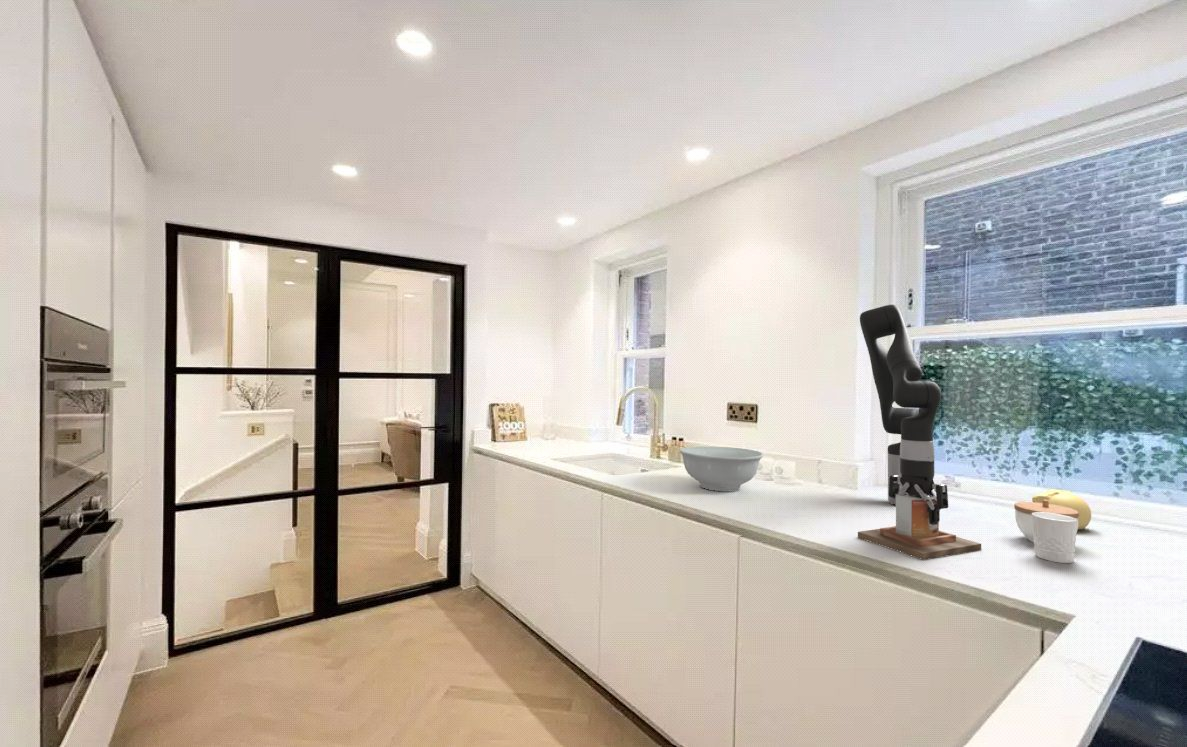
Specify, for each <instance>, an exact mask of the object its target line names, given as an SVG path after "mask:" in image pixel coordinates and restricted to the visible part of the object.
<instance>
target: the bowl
mask: <svg viewBox="0 0 1187 747" xmlns="http://www.w3.org/2000/svg"><path fill="white" fill-rule="evenodd" d="M679 453H680V454H681V455H682V459H683V465H684V469H685V471H686V473H687V474H688V475H689V476H690V477H691V478H692V479H694V480H695V481H697V482H698V483H699V486H700V488H702V489H704V488H705V489H704V490H707V489H709V490H708V491H713V490H715V491H714V492H736V491H735V490H737V491H740V489H741V486H742V485H744V484H746V483H748V482H750V481H751V480H752V479H753V478H755V476H756V474H757V471H758V469H759V464H760V460H761V459H762V458H763V457H764V454H763V453H762V452H761V451H759V450H754V449H748V448H742V447H741V448H740V447H728V446H687V447H682V448H679Z"/></svg>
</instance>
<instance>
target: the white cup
mask: <svg viewBox="0 0 1187 747" xmlns="http://www.w3.org/2000/svg"><path fill="white" fill-rule="evenodd" d="M1032 525H1033V537H1034V542H1033V544H1034V554H1035V556H1036V558H1037V557H1038V558H1040V559H1042V560H1046V561H1049V562H1054V563H1055V562H1056V563H1061V564H1062V563H1063V564H1072V563H1074V562H1075V551H1076V542H1077V533H1076V526H1077V519H1075V518H1073V517H1069V516H1065V515H1060V514H1054V513H1045V512H1034V513H1032Z"/></svg>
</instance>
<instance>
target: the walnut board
mask: <svg viewBox="0 0 1187 747" xmlns="http://www.w3.org/2000/svg"><path fill="white" fill-rule="evenodd" d="M858 537H859V538H858ZM857 538H858V539H861V538H862V539H861V540H864V539H865V541H867V540H868V541H867V542H870V541H871V542H870V543H874V544H876V543H877V544H876V545H879V544H880V545H879V546H881V545H883V546H882V547H884V546H886V547H885V548H887V547H889V548H888V549H890V548H892V549H891V550H893V549H895V550H894V551H896V550H898V551H897V552H899V551H901V552H900V553H902V552H903V553H902V554H905V553H906V554H905V555H908V554H909V555H908V556H911V555H912V556H911V557H913V556H915V557H914V558H916V557H918V558H917V559H919V558H921V559H920V560H922V559H926V560H929V559H928V558H932V559H936V557H937V558H941V556H943V557H947V556H946V555H949V556H954V555H959V554H958V553H960V554H965V553H964V552H966V553H970V551H971V552H975V551H976V550H977V551H981V550H982V543H979V542H976V541H972V540H969V539H967V538H962V537H959V536H957V535H956V534H953V533H949V532H946V531H942V530H939V536H937V537H930V538H924V539H917V538H914V537H911V536H907V535H904V534H901V533H898V532H896V525H894V526H888V527H880V528H876V529H870V530H867V529H866V530H861V531H860V530H859V531H857ZM953 554H954V555H953Z"/></svg>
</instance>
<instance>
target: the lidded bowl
mask: <svg viewBox="0 0 1187 747" xmlns="http://www.w3.org/2000/svg"><path fill="white" fill-rule="evenodd" d="M1042 502H1043V503H1035V502H1033V501H1020V502H1015V503H1014V506H1013V507H1014V509H1015V510H1014V514H1015V515H1014V516H1015V522H1016V524H1017V525H1016V526H1017V528H1018V529H1019V531H1020V532H1021V533H1022V535H1024V536H1025V537H1026V538H1027V541H1029V542H1031V543H1034V537H1033V525H1032V513H1034V512H1045V513H1054V514H1060V515H1065V516H1069V517H1073V518H1075V519H1077V526H1076V534H1077V532H1078V530H1079V529H1078V517H1079V512H1078V511H1077V510H1074V509H1071V508H1068V507H1063V506H1058V505H1052V504H1049V501H1048V500H1042Z"/></svg>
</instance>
